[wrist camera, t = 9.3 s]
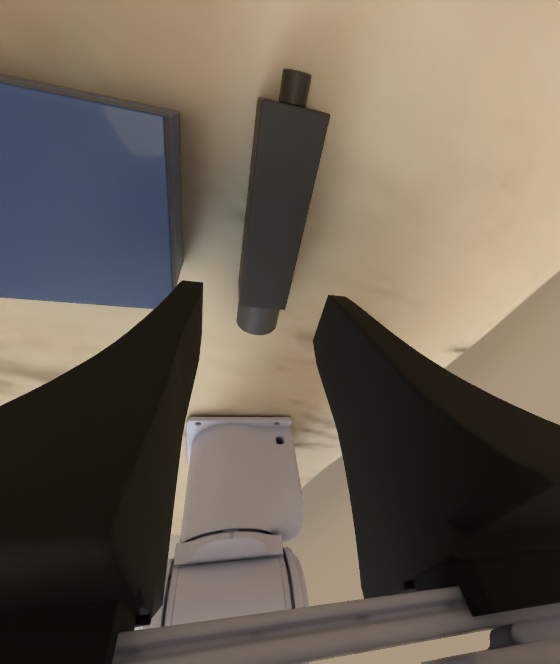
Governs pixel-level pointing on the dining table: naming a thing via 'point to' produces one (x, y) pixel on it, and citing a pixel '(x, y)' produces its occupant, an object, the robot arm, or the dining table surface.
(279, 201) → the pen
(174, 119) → the blue box
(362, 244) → the dining table surface
